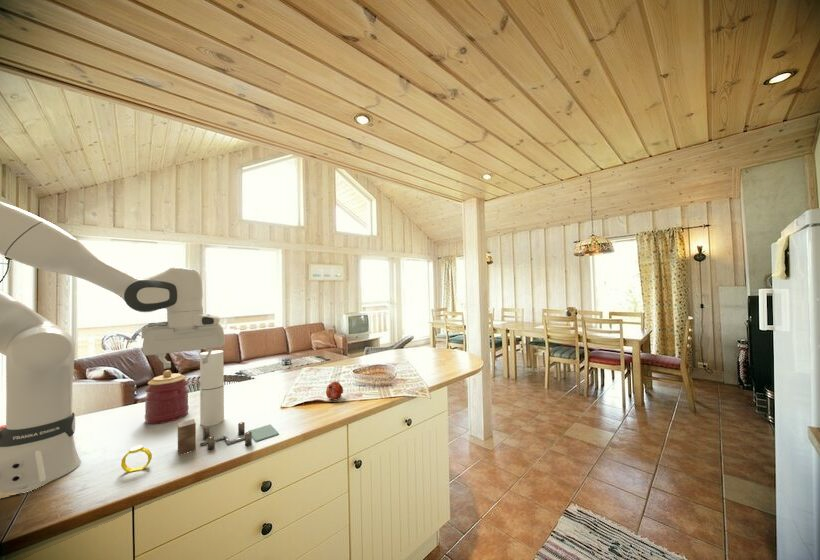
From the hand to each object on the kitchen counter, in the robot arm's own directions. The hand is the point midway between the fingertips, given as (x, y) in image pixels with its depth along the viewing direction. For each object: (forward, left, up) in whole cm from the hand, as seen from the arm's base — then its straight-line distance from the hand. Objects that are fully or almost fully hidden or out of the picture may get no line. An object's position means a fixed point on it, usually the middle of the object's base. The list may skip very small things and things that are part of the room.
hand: (186, 365), depth 92 cm
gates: (+10, -4, -25) cm, 27 cm away
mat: (+20, -7, -25) cm, 32 cm away
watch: (-11, -5, -25) cm, 28 cm away
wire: (+10, -4, -25) cm, 27 cm away
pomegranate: (+52, +5, -25) cm, 58 cm away
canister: (-3, +33, -25) cm, 41 cm away
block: (0, -2, -25) cm, 25 cm away
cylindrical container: (+9, +16, -25) cm, 31 cm away
